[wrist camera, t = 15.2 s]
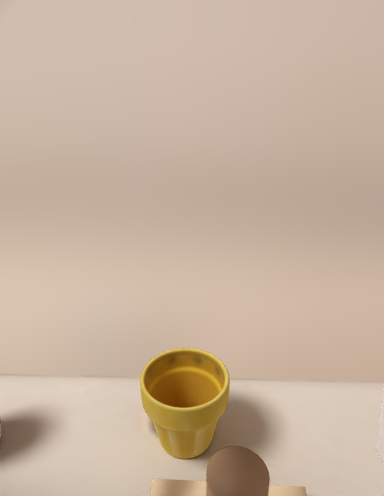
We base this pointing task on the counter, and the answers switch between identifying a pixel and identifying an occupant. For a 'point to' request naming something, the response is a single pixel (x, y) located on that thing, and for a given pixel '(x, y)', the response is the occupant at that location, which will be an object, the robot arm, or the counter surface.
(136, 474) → the counter surface
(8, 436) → the counter surface
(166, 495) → the collar block
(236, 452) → the peg
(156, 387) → the plant pot
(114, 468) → the counter surface
